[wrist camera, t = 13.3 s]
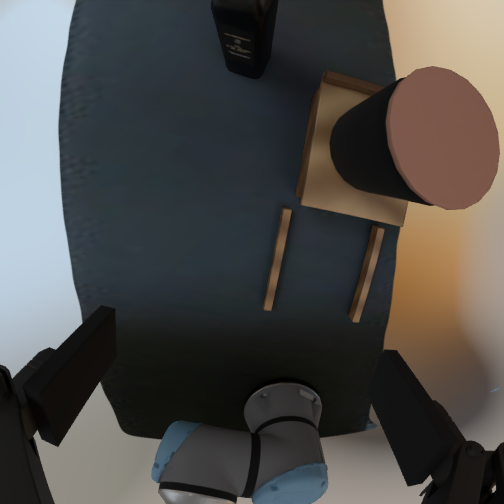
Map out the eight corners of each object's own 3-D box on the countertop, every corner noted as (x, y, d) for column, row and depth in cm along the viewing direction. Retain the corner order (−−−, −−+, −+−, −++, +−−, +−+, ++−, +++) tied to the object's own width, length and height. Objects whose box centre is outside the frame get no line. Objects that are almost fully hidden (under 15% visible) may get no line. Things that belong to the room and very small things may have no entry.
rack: (354, 316, 51) (378, 353, 39) (263, 303, 50) (265, 341, 39) (397, 117, 42) (436, 105, 31) (302, 90, 42) (318, 65, 30)
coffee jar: (418, 167, 35) (514, 172, 17) (354, 208, 36) (431, 238, 19) (378, 94, 33) (459, 50, 15) (309, 131, 34) (359, 96, 17)
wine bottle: (259, 81, 42) (266, -39, 13) (224, 70, 41) (186, -53, 12) (272, 52, 40) (294, -79, 11) (238, 41, 40) (221, -92, 11)
